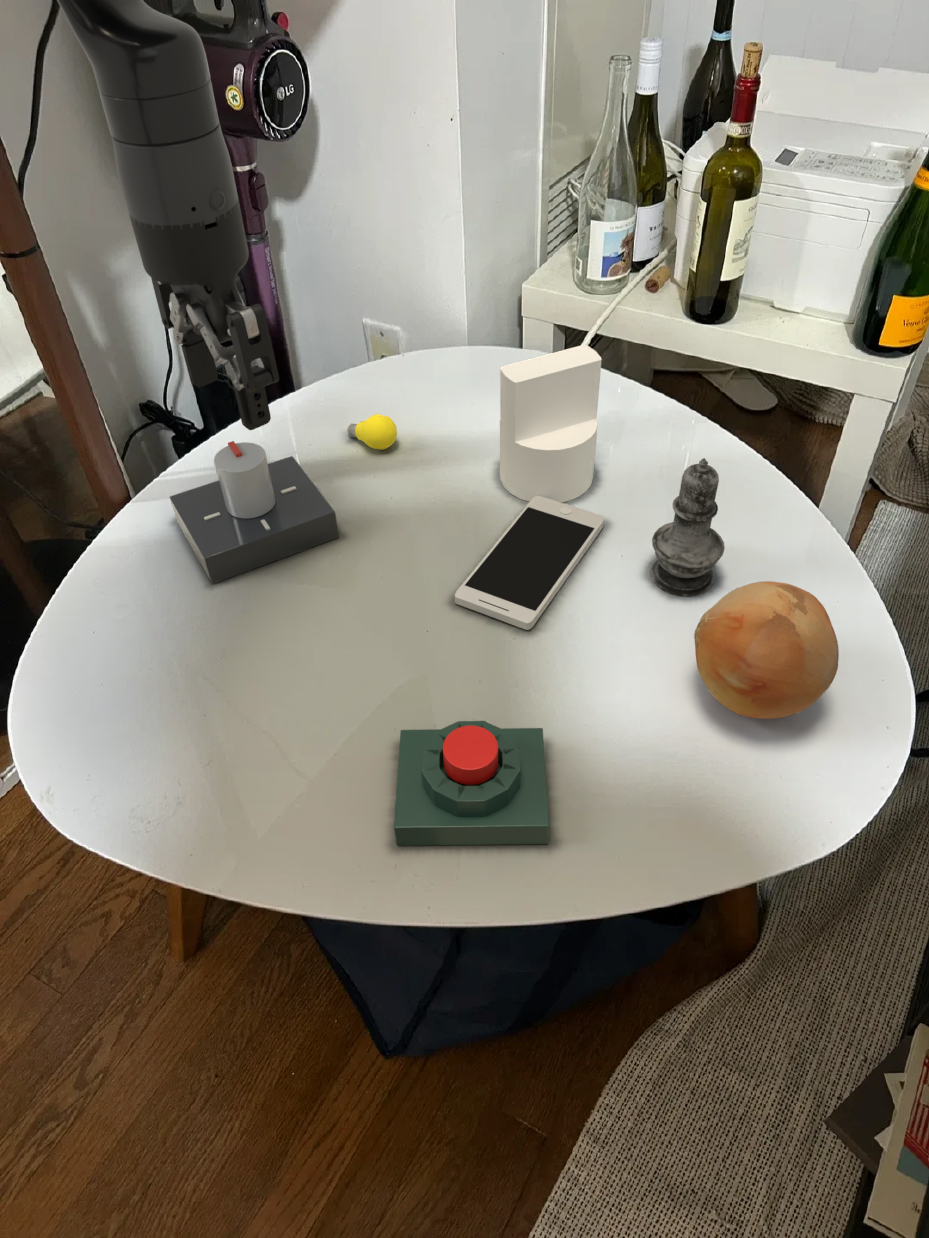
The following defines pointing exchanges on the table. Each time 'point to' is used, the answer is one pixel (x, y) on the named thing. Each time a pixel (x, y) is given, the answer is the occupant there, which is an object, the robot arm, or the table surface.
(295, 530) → the dark grey flat block
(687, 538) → the grey chess piece
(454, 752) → the stop button
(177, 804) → the table surface
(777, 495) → the table surface
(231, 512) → the rotary knob
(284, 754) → the table surface
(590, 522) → the smartphone
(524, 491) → the base with upright slab
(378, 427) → the light bulb
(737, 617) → the onion
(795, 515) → the table surface
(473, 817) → the button block
